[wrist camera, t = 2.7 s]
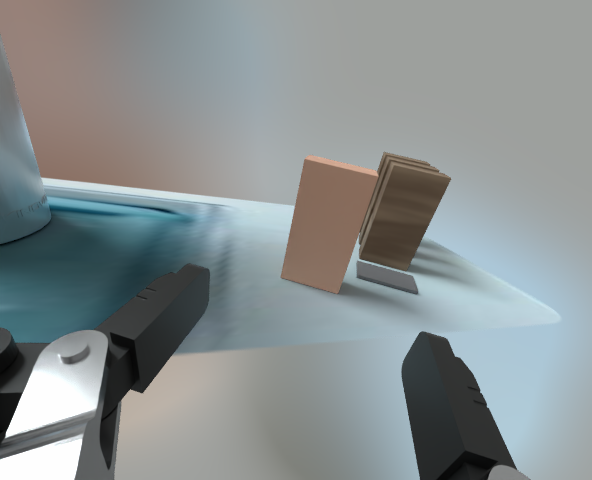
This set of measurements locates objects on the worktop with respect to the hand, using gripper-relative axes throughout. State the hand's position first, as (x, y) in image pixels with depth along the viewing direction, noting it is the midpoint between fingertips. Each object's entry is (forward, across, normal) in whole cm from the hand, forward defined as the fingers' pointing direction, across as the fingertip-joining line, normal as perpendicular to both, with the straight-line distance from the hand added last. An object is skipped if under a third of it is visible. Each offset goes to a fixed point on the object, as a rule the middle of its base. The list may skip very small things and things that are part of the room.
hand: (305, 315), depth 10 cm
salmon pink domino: (+11, 0, +6) cm, 13 cm away
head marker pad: (+15, -7, +6) cm, 17 cm away
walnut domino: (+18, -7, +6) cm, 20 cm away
